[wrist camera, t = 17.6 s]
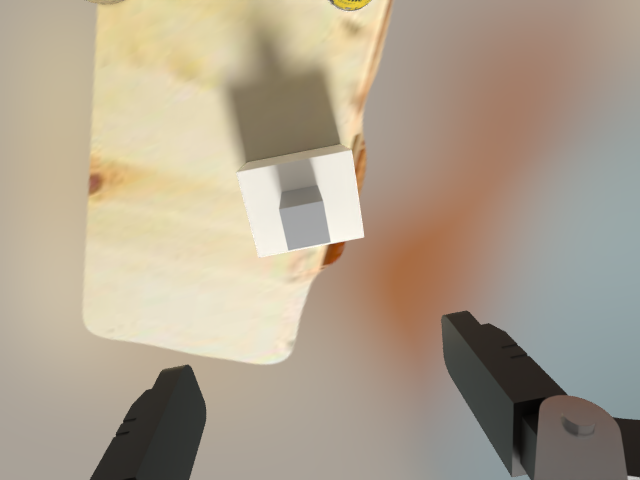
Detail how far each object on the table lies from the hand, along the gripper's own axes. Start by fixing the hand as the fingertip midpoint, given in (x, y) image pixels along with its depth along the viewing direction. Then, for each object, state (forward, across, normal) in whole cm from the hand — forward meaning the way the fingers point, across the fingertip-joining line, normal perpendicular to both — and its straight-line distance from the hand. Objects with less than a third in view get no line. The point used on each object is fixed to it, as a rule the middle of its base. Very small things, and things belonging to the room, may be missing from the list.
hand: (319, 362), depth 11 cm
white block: (+28, 0, 0) cm, 28 cm away
